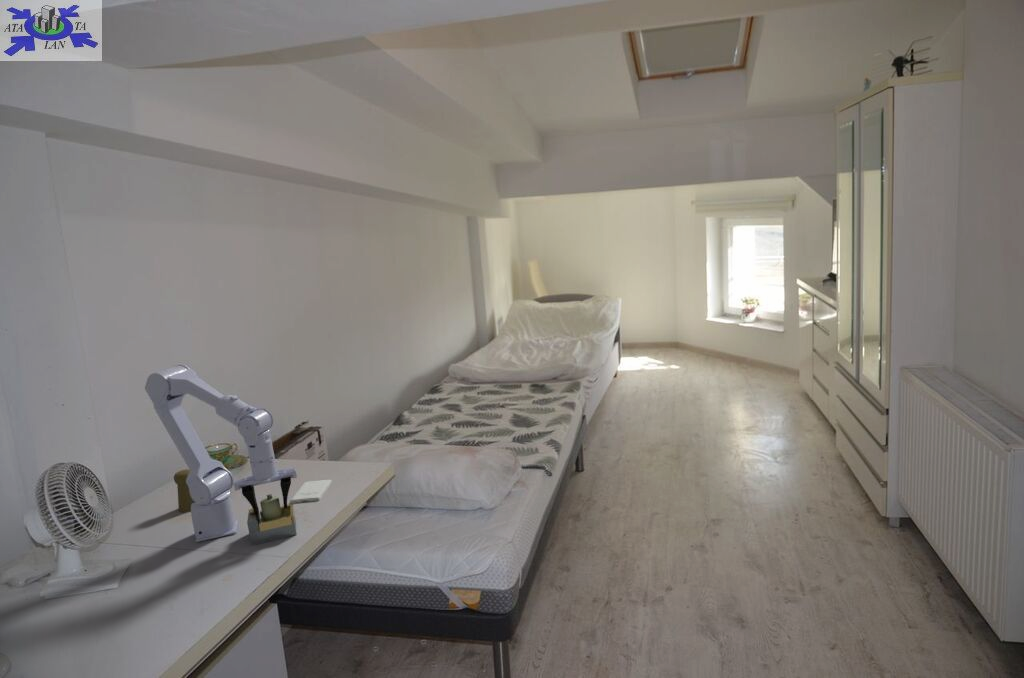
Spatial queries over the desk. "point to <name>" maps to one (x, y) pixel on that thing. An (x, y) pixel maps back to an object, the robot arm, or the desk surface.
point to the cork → (183, 491)
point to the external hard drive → (311, 491)
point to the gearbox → (271, 526)
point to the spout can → (270, 508)
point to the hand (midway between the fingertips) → (271, 510)
